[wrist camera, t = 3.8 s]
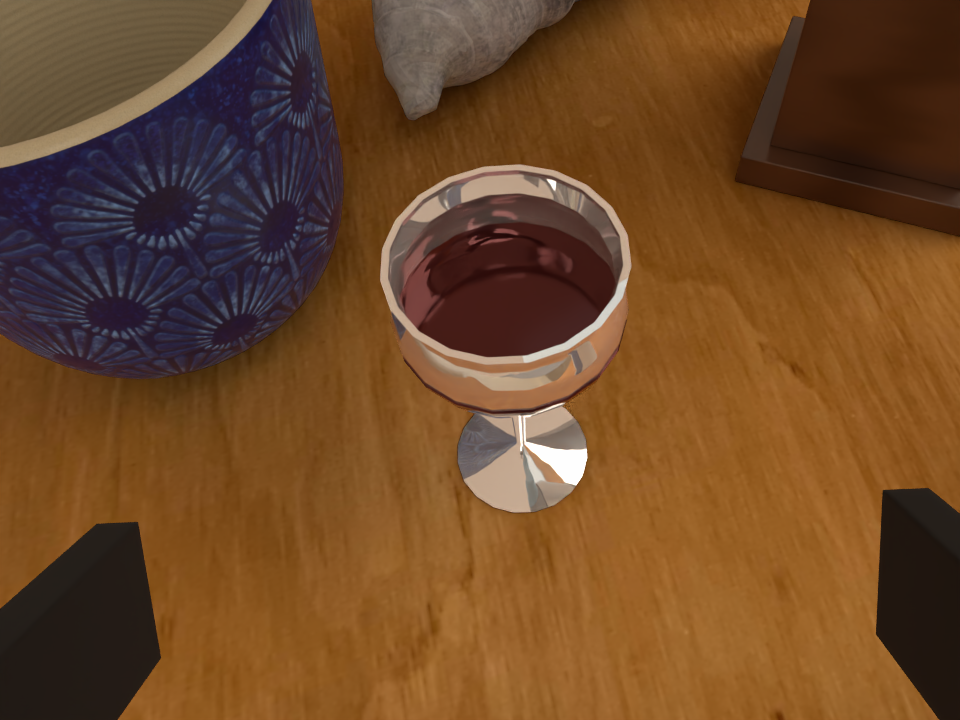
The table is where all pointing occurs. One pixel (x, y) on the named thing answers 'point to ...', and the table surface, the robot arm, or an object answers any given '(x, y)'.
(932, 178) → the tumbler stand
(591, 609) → the table surface
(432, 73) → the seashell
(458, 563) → the table surface
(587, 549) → the table surface
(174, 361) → the planter
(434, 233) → the wineglass
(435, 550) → the table surface
